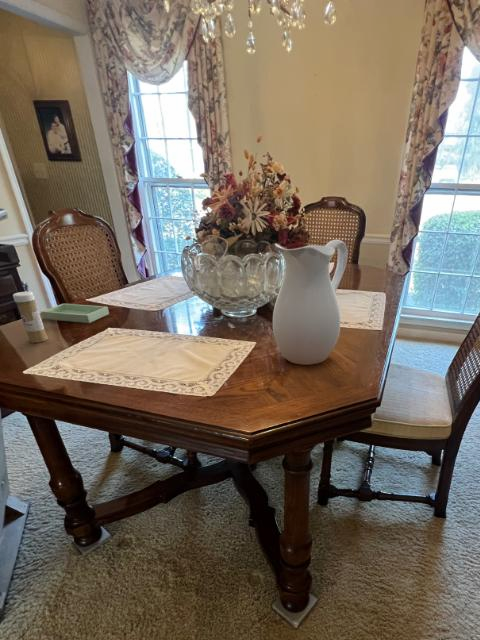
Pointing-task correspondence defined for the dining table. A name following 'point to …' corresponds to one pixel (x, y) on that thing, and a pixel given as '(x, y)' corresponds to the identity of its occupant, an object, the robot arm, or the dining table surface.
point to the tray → (75, 313)
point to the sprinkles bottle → (30, 316)
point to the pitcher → (309, 303)
